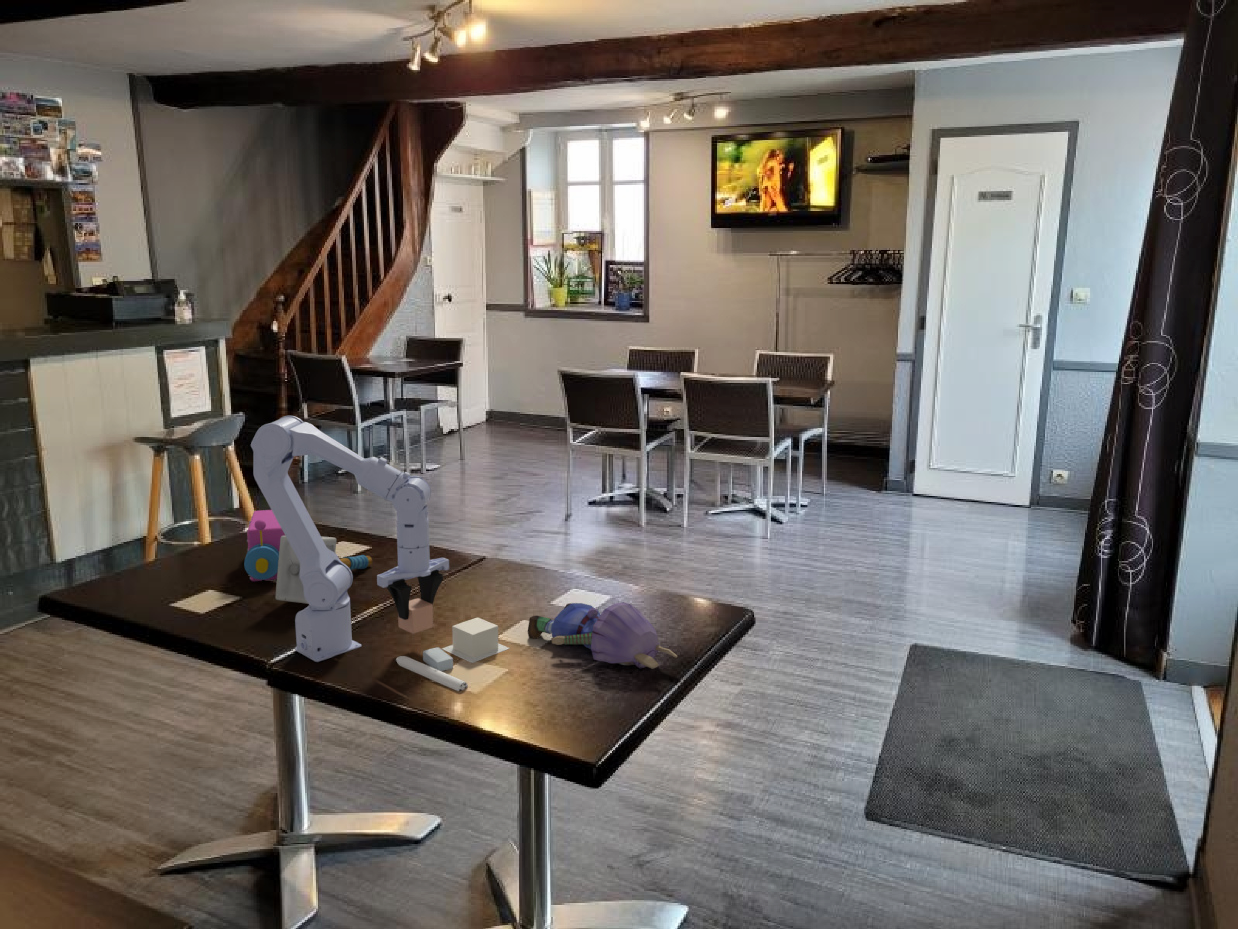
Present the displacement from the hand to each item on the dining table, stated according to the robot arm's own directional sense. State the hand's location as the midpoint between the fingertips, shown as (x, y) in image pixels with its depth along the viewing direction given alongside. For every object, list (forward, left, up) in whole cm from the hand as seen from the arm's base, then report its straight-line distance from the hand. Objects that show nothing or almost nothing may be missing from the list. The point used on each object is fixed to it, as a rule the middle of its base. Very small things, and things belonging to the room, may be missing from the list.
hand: (415, 614), depth 169 cm
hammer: (+8, +42, -7) cm, 43 cm away
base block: (+8, -8, -7) cm, 13 cm away
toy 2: (+24, -26, -8) cm, 36 cm away
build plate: (+8, -8, -7) cm, 13 cm away
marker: (-5, -11, -8) cm, 14 cm away
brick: (-1, -9, -7) cm, 11 cm away
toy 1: (+4, +63, -7) cm, 64 cm away
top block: (0, 0, -3) cm, 3 cm away
